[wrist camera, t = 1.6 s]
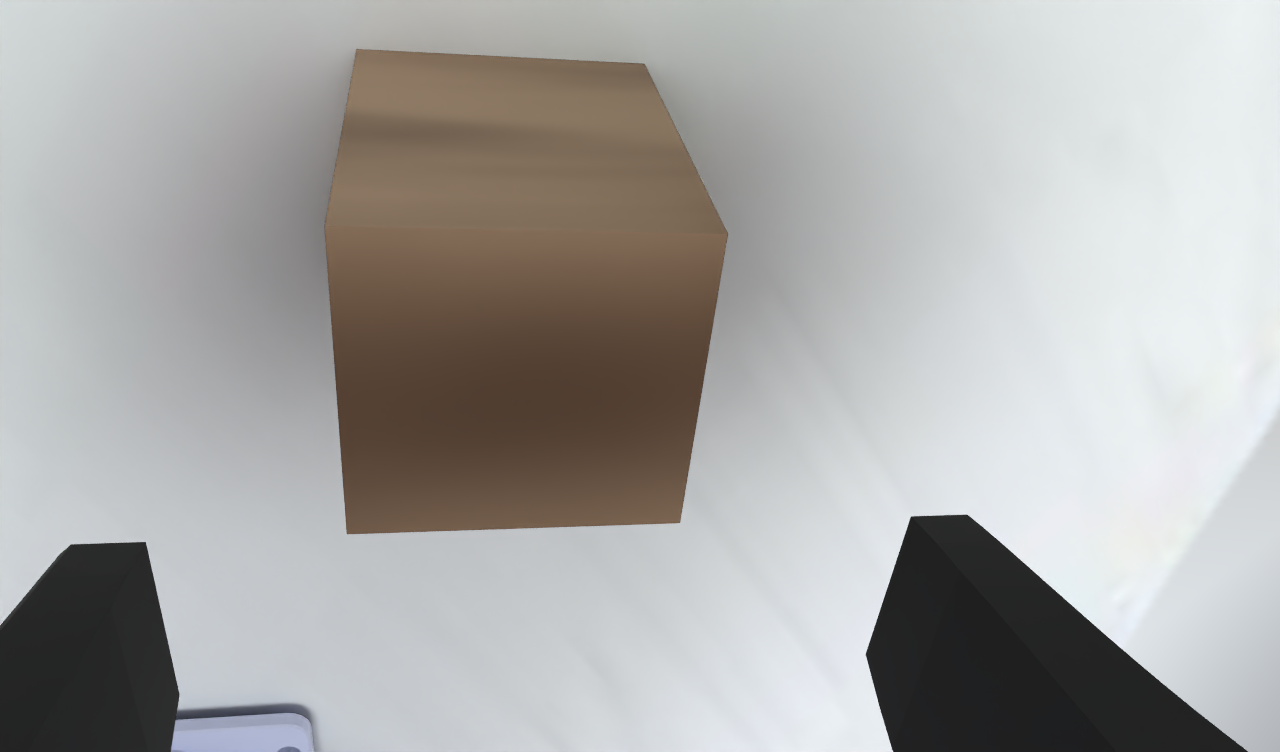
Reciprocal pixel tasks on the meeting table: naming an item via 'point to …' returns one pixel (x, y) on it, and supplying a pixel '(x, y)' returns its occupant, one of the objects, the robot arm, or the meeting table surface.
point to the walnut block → (516, 294)
